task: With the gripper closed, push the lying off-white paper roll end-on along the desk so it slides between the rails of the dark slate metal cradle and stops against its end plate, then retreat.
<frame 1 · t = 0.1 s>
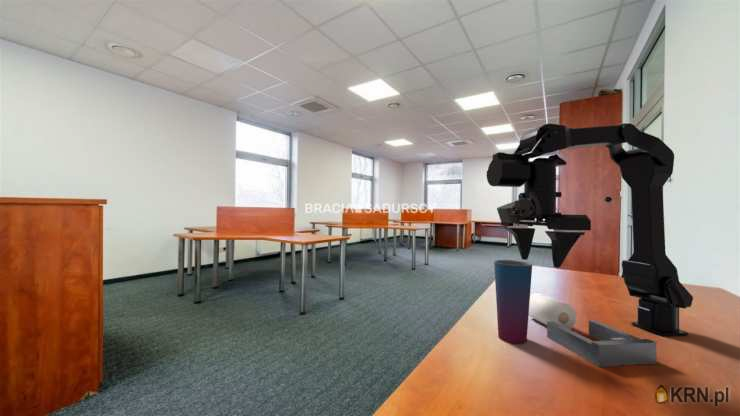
hand: (539, 263, 59), 15 cm above the table, fingers open, 9 cm apart
cup: (512, 339, 57), on the table
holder: (593, 347, 54), on the table
roll: (549, 324, 65), on the table
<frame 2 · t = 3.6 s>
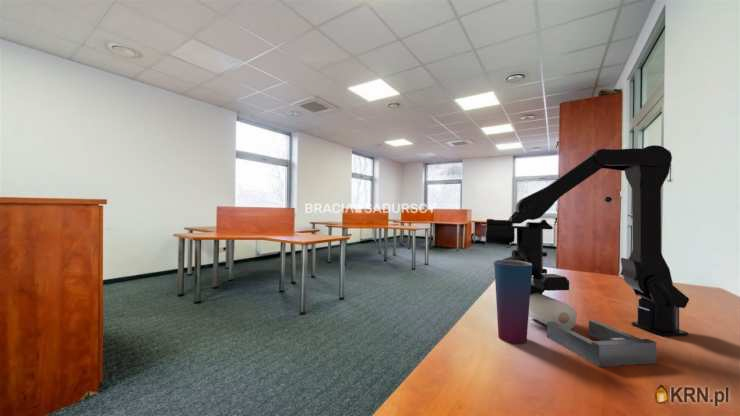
hand: (529, 310, 71), 1 cm above the table, fingers closed
roll: (549, 324, 64), on the table, touching gripper
everything else where it was.
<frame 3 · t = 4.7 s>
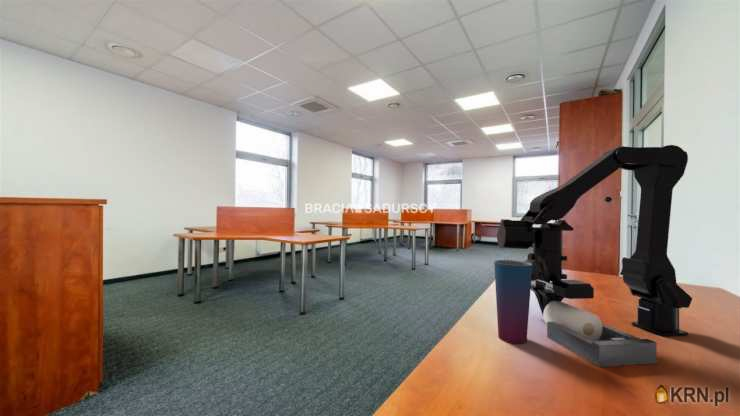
hand: (546, 318, 65), 1 cm above the table, fingers closed
roll: (571, 336, 58), on the table, touching gripper
everything else where it was.
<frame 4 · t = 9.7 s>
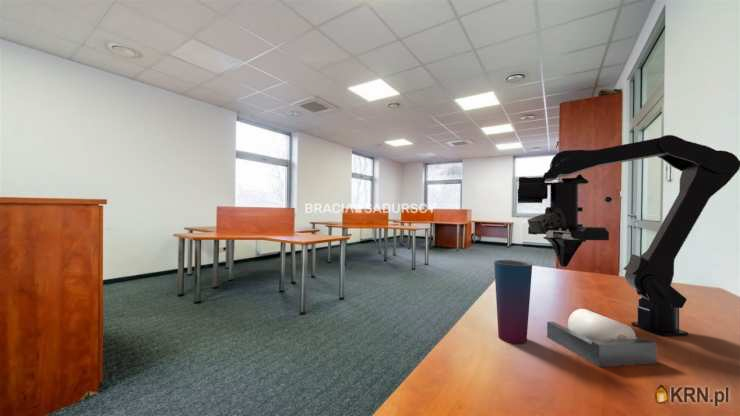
hand: (563, 266, 71), 12 cm above the table, fingers closed
roll: (594, 347, 53), on the table, tilted 22°
everything else where it was.
at the end: roll 1.3 cm from the target spot on the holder, point 0.1 cm above the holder's base; roll moved 11.3 cm from its start; roll on the table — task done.
